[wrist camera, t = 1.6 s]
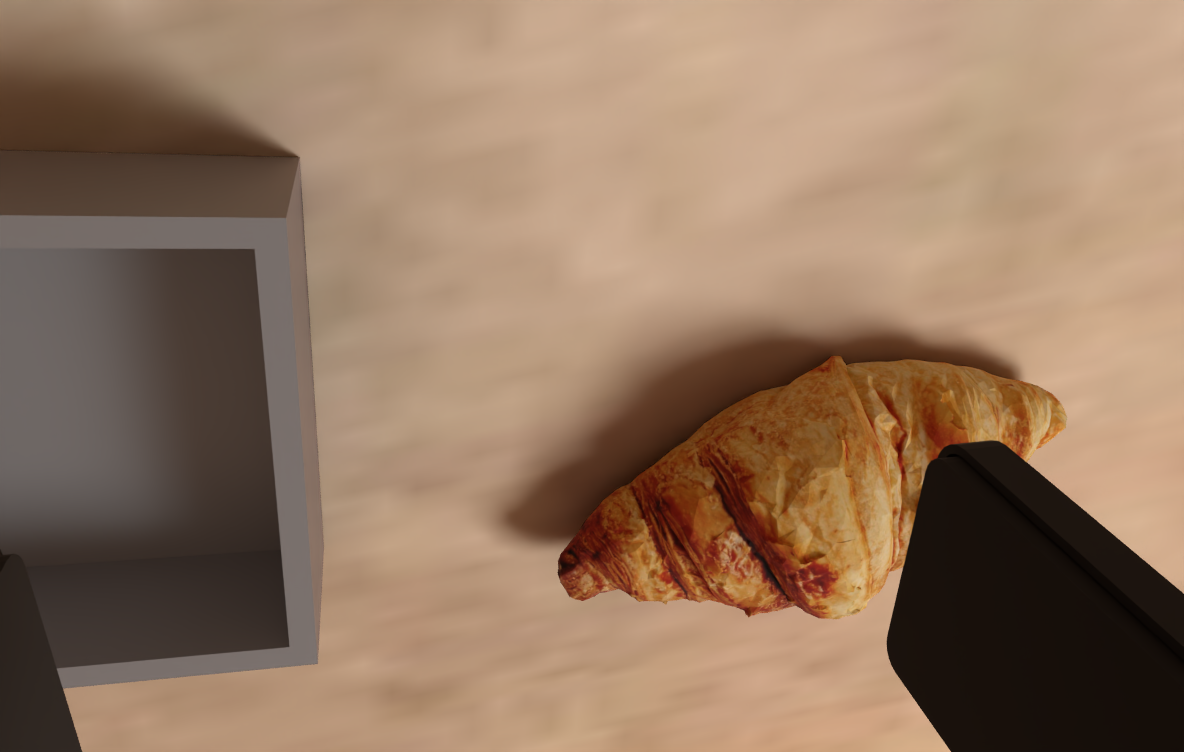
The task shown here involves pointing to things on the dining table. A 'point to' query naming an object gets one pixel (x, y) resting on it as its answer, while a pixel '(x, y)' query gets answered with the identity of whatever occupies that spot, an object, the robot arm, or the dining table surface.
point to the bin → (159, 411)
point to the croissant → (800, 488)
